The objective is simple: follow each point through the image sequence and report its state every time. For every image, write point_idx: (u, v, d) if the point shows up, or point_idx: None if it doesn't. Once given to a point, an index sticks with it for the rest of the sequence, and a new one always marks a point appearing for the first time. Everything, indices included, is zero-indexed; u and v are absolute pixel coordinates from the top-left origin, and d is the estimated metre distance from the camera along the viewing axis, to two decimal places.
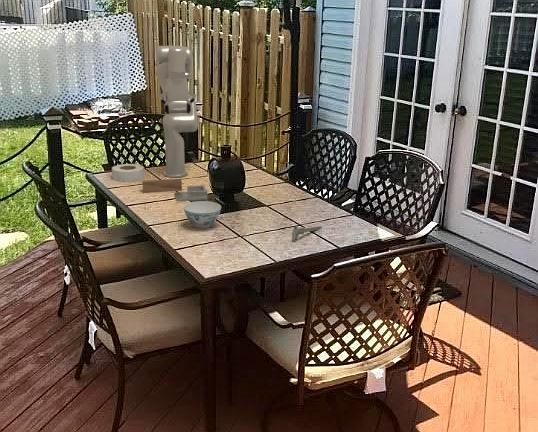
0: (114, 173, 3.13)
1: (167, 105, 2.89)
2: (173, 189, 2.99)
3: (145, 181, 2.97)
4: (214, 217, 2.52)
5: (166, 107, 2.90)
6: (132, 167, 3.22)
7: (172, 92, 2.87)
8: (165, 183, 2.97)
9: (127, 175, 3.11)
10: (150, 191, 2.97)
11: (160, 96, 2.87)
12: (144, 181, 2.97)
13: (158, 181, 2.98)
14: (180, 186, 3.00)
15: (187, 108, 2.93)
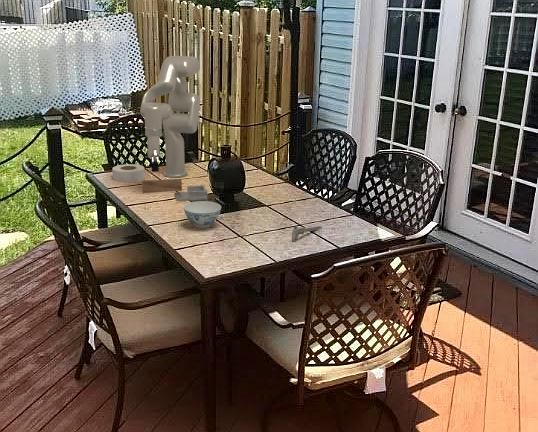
0: (115, 173, 3.13)
1: None
2: (173, 189, 2.99)
3: (145, 181, 2.97)
4: (214, 217, 2.52)
5: (157, 165, 2.90)
6: (133, 167, 3.21)
7: (159, 149, 2.91)
8: (165, 183, 2.97)
9: (127, 176, 3.11)
10: (150, 191, 2.97)
11: (156, 155, 2.86)
12: (144, 181, 2.97)
13: (158, 181, 2.98)
14: (180, 186, 3.00)
15: None
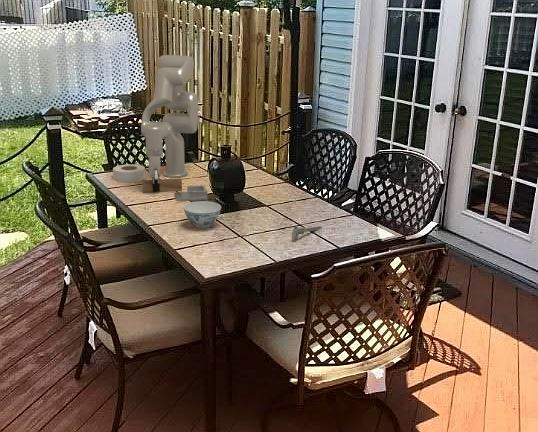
0: (115, 173, 3.13)
1: (158, 183, 2.96)
2: (173, 189, 2.99)
3: (145, 181, 2.97)
4: (214, 217, 2.52)
5: (157, 185, 2.96)
6: (133, 167, 3.21)
7: (160, 168, 2.94)
8: (165, 183, 2.97)
9: (128, 176, 3.11)
10: (150, 191, 2.97)
11: (157, 178, 2.91)
12: (144, 181, 2.97)
13: None
14: (180, 186, 2.99)
15: None
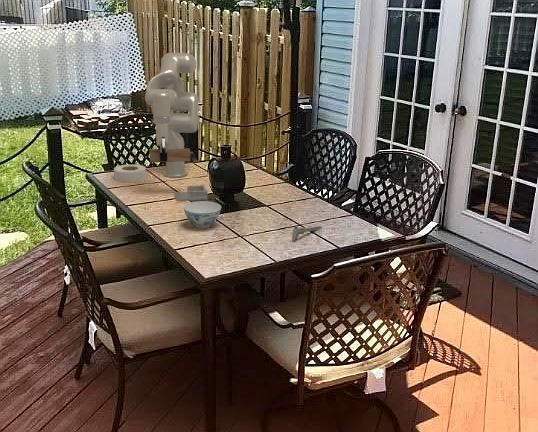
0: (116, 174, 3.12)
1: (166, 152, 2.86)
2: (181, 158, 2.89)
3: (152, 150, 2.87)
4: (214, 217, 2.52)
5: (165, 154, 2.86)
6: (134, 168, 3.21)
7: None
8: (173, 152, 2.87)
9: (129, 176, 3.10)
10: (157, 160, 2.87)
11: (165, 146, 2.81)
12: (151, 150, 2.87)
13: None
14: (188, 155, 2.89)
15: None
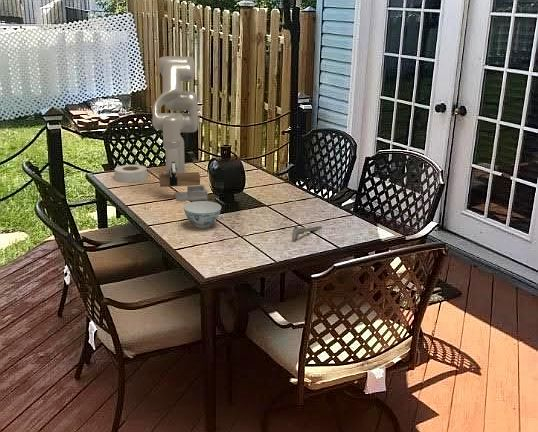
0: (117, 174, 3.12)
1: None
2: (191, 182, 2.88)
3: (162, 174, 2.86)
4: (214, 217, 2.52)
5: (175, 179, 2.84)
6: (135, 168, 3.20)
7: None
8: (183, 176, 2.86)
9: (130, 176, 3.10)
10: (167, 185, 2.85)
11: None
12: (161, 174, 2.86)
13: None
14: (198, 179, 2.88)
15: None
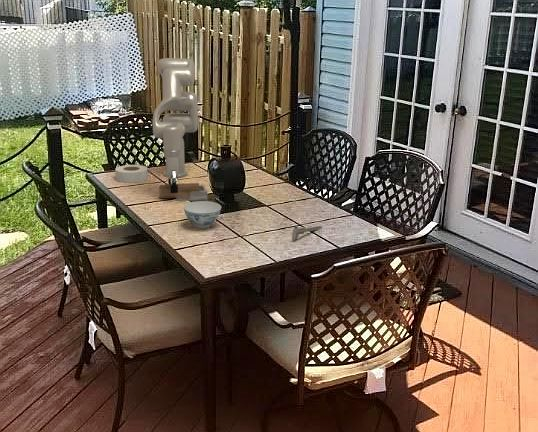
0: (118, 174, 3.12)
1: (177, 184, 2.84)
2: None
3: (162, 185, 2.88)
4: (214, 217, 2.52)
5: (176, 186, 2.83)
6: (135, 168, 3.20)
7: None
8: (183, 187, 2.88)
9: (131, 176, 3.10)
10: (167, 196, 2.87)
11: (175, 177, 2.79)
12: (161, 185, 2.88)
13: None
14: (198, 190, 2.90)
15: None
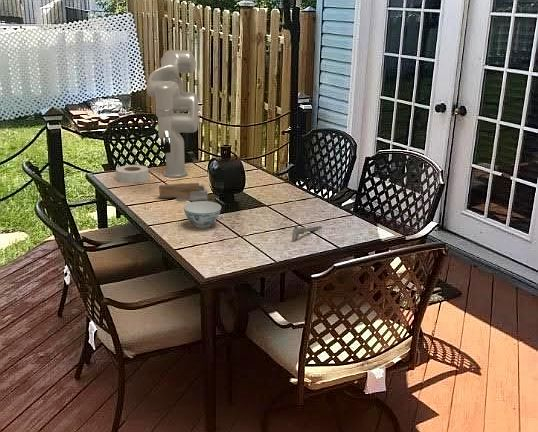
0: (119, 174, 3.11)
1: (169, 143, 2.83)
2: None
3: (162, 185, 2.88)
4: (214, 217, 2.52)
5: (168, 146, 2.83)
6: (136, 168, 3.20)
7: None
8: (183, 187, 2.88)
9: (132, 177, 3.10)
10: (167, 196, 2.87)
11: (168, 136, 2.78)
12: (161, 185, 2.88)
13: (175, 185, 2.88)
14: (198, 190, 2.90)
15: None
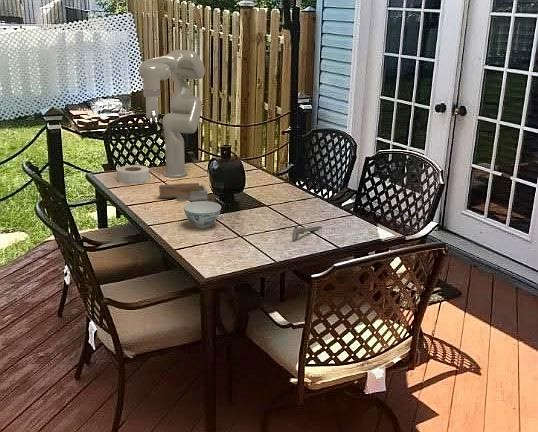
0: (120, 175, 3.11)
1: (156, 123, 2.88)
2: None
3: (162, 185, 2.88)
4: (214, 217, 2.52)
5: (155, 126, 2.87)
6: (137, 168, 3.19)
7: None
8: (183, 187, 2.88)
9: (133, 177, 3.09)
10: (167, 196, 2.87)
11: (155, 116, 2.83)
12: (161, 185, 2.88)
13: (175, 185, 2.88)
14: (198, 190, 2.90)
15: None
